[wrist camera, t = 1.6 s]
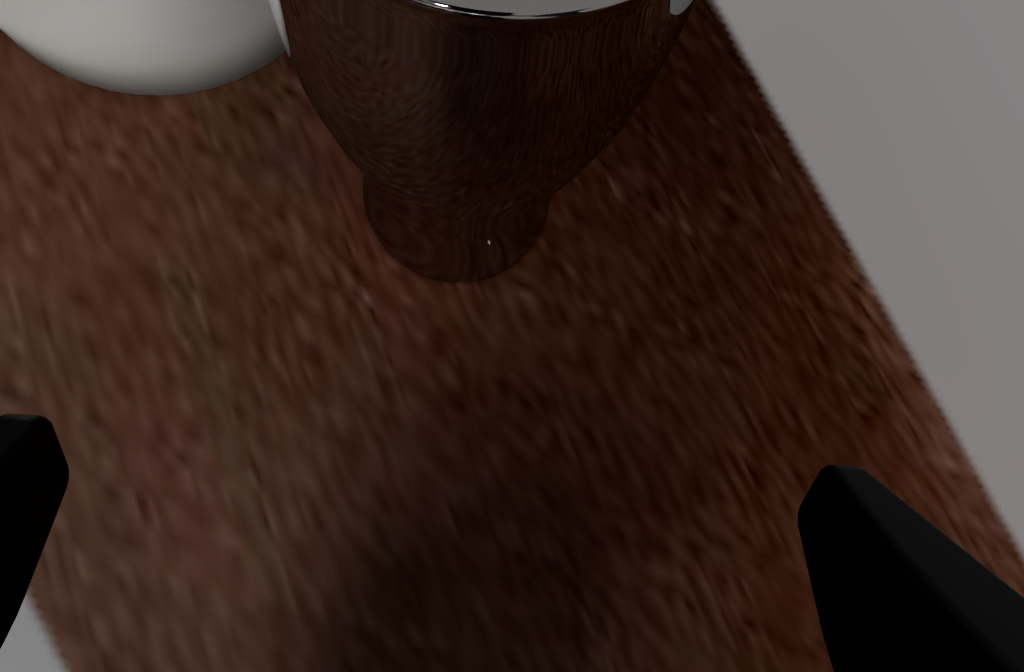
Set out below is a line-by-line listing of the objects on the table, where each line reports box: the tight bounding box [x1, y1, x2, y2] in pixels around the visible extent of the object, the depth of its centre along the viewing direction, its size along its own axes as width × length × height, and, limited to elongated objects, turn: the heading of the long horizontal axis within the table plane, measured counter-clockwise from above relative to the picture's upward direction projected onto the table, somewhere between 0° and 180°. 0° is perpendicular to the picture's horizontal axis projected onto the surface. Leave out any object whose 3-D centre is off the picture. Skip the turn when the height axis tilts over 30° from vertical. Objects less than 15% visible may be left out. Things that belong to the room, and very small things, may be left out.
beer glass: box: [268, 0, 696, 283], centre depth 15 cm, size 7×7×15 cm
